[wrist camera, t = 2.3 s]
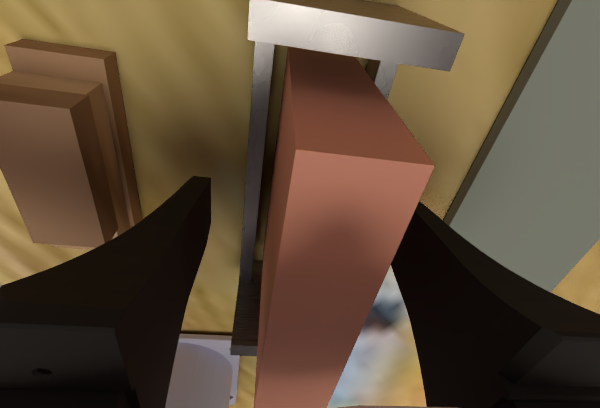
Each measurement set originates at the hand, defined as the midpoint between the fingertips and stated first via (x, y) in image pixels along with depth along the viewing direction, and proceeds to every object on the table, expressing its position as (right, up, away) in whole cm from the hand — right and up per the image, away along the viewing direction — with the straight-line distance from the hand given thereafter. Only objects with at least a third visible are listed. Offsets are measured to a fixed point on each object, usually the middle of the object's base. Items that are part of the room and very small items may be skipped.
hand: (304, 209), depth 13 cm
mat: (+12, +1, +4) cm, 12 cm away
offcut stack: (-9, +3, +2) cm, 9 cm away
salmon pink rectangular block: (0, +2, +2) cm, 3 cm away
